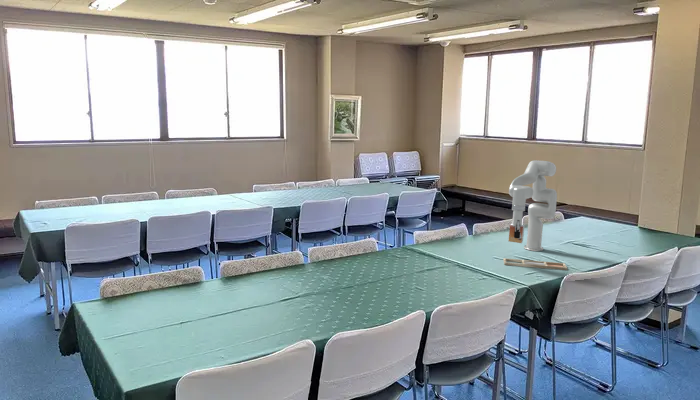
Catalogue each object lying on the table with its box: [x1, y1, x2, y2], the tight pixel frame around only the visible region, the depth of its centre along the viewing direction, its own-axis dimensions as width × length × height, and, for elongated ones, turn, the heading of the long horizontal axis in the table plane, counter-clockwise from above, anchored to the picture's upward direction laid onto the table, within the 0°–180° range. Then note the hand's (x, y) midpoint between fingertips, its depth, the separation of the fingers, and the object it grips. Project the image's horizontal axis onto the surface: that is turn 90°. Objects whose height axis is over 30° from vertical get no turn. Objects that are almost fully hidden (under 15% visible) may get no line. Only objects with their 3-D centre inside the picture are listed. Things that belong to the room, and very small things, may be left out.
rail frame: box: [502, 257, 568, 271], centre depth 322 cm, size 10×36×2 cm, turn 77°
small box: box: [508, 223, 525, 244], centre depth 321 cm, size 8×6×10 cm
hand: (516, 236), depth 322 cm, fingers closed on small box, 6 cm apart
